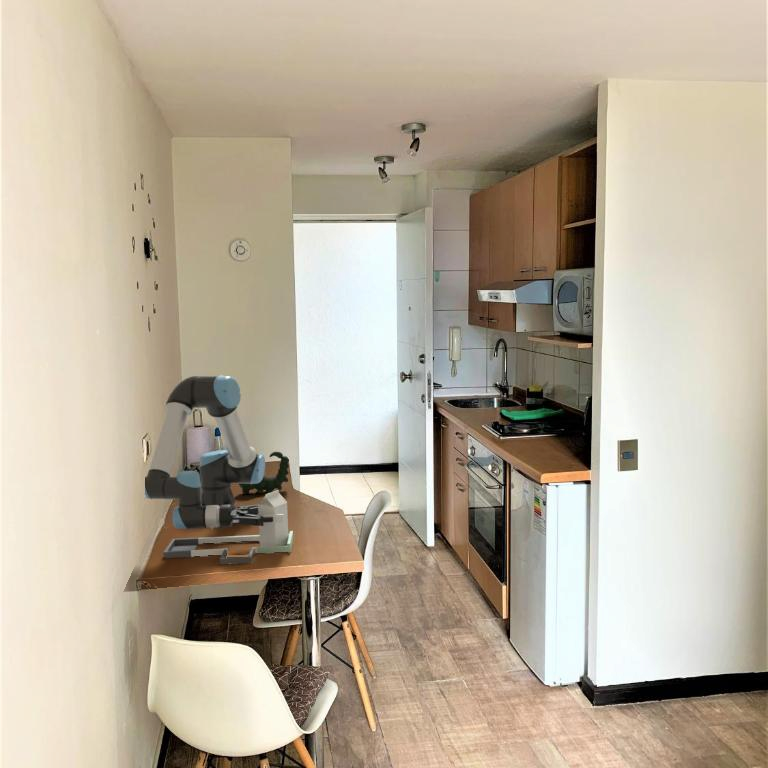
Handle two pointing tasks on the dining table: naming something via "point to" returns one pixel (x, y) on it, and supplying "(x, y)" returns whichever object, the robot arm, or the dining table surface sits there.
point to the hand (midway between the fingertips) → (284, 513)
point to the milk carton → (273, 531)
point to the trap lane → (188, 546)
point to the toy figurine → (270, 478)
